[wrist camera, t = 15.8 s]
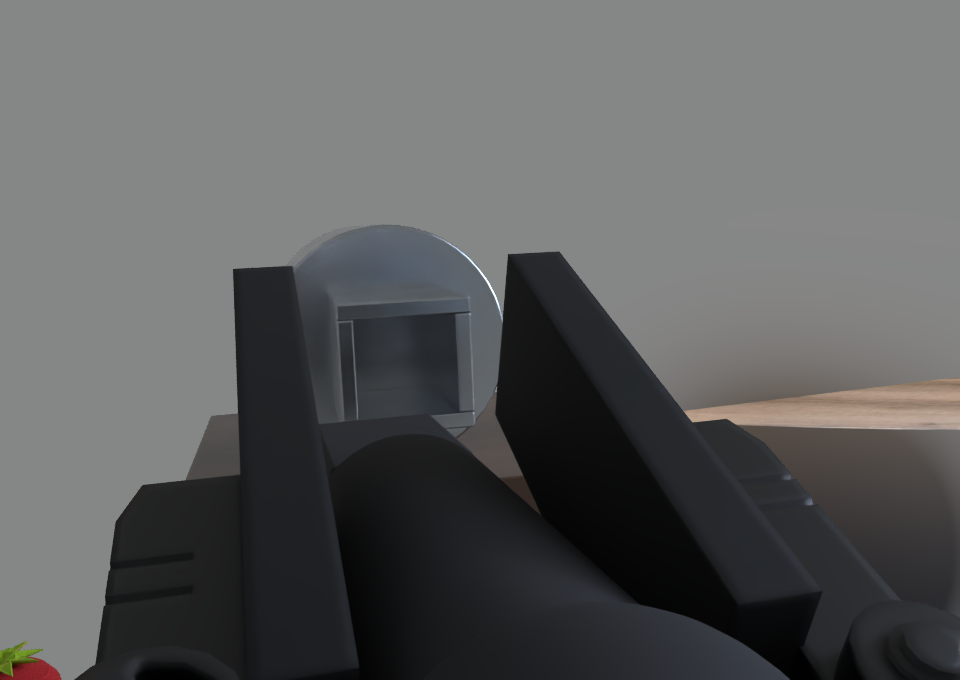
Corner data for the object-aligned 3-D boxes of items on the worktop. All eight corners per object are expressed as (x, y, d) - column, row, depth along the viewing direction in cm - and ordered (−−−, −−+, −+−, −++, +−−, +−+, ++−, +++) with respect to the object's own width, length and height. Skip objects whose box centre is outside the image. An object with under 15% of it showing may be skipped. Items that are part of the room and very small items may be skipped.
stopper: (1071, 1356, 5) (1085, 716, 4) (404, 1650, 4) (346, 883, 3) (473, 554, 17) (463, 373, 17) (287, 580, 16) (272, 389, 16)
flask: (548, 490, 23) (539, 218, 22) (271, 519, 21) (249, 229, 20) (455, 397, 35) (447, 222, 35) (276, 412, 34) (263, 229, 33)
